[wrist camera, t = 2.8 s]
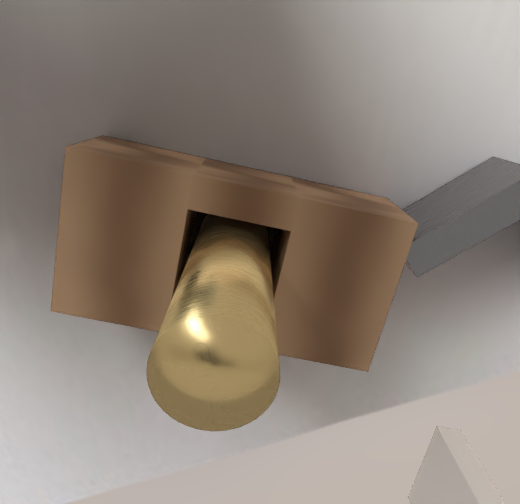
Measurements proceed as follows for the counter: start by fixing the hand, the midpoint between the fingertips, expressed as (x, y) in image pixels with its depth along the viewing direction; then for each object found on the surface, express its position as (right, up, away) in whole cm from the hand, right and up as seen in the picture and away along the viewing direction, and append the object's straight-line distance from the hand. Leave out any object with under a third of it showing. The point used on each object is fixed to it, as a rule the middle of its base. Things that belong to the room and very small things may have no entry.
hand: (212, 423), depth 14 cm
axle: (0, +6, +17) cm, 18 cm away
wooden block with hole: (0, +6, +17) cm, 18 cm away
